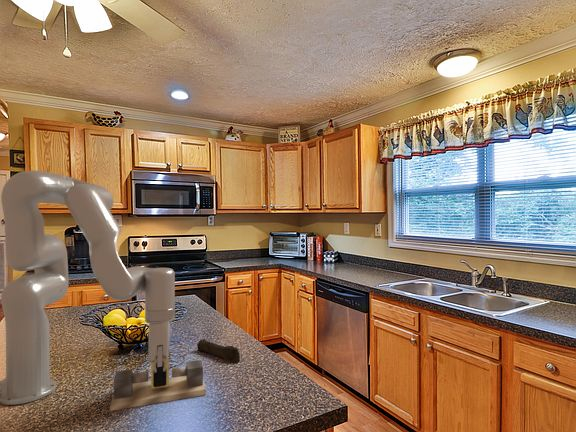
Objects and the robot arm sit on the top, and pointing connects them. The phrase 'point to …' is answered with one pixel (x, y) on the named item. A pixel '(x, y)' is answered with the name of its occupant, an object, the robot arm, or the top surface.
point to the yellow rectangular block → (166, 373)
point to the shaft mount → (138, 388)
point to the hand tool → (219, 350)
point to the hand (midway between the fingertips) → (159, 381)
